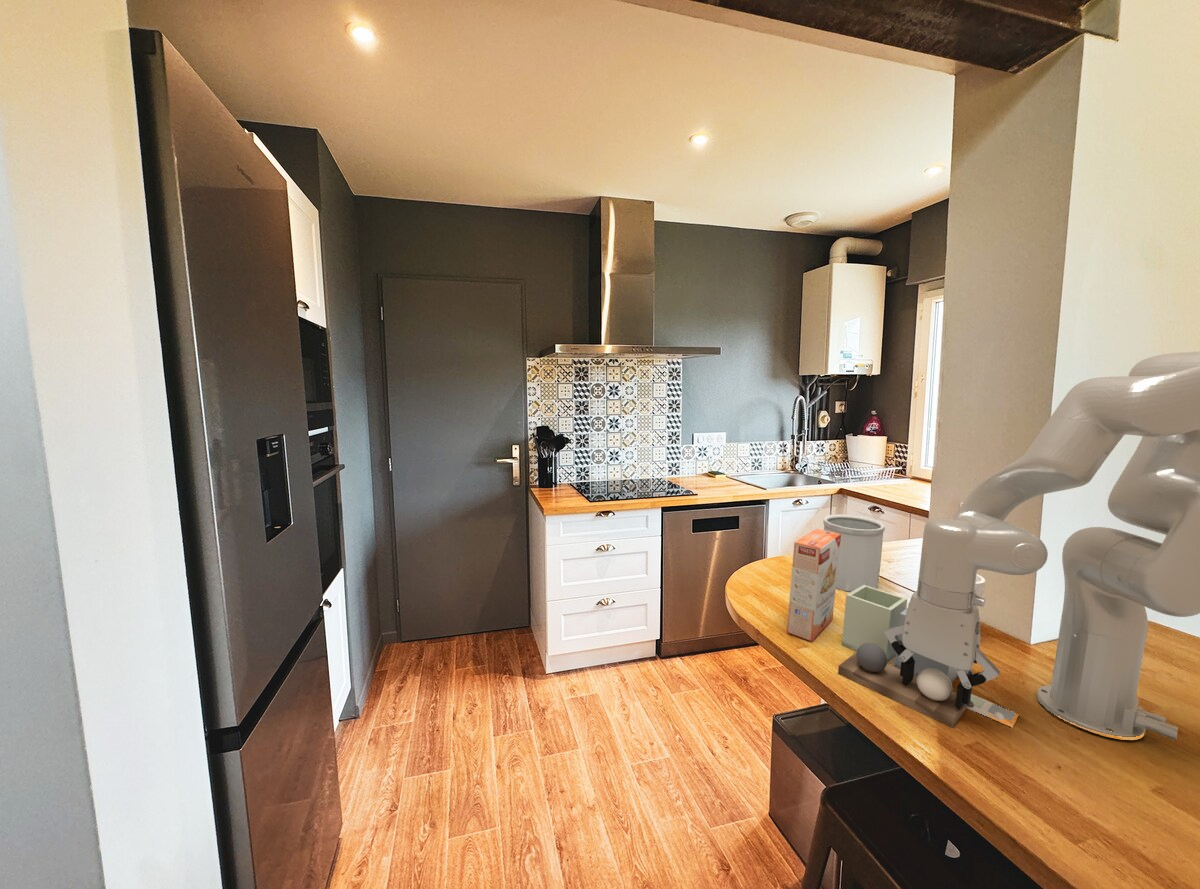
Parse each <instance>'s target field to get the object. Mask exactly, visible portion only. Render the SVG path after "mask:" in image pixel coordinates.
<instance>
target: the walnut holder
mask: <svg viewBox="0 0 1200 889" xmlns="http://www.w3.org/2000/svg"><path fill="white" fill-rule="evenodd" d="M837 674H839V675H840V676H843V677H845V678H847V679H849V680H851V681H853V682H855V683H858V684H860V685H862V686H864V687H866V688H868V689H870V690H872V691H874V692H876V693H878V694H880V695H882V696H884V697H887V698H889V699H892V700H893V701H896V702H898V703H900V704H901V705H904V706H906V707H907V708H910V709H912V710H914V711H917V712H919V713H920V714H922V715H925V716H927V717H929V718H931V719H933V720H935V721H937V722H939V723H941V724H944V725H946V726H948V727H949V728H954V727H955V725H956V724H957V722H958V721H959V720H960V718H961V717H962V716H963V714H964V713H965V712H966V710H968V709H967V706H968V705H966V704H964V706H963V707H962V708H961V710H959V709H957V708H956V707H955V703H956V694H957V692H955V691H952V694H951V696H950V697H949V698H948V699H946V700H943V701H935V700H932V699H929V698H928V697H926V696H925V695H924V694H923V693H922V692H921V691H920V690H919V688H918V685H917V676H915V675H913V680H912V681H911V682H910V683H909V684H908V685H904V684H902V679H903V677H902V676H900V669H898V668H896V667H895V665H894V666H893V665H891V664H889V663H887V665H886V667H885V668H884V669H883V670H882V671H880V672H869V671H867V670H865V669H864V668H863V667H861V665H860V664H859V663H858V661H857V657H856V652H854V653H853V654H851V656H849V657H848V658H847V659H845V660H844V661H843V662H841V663H840V664H838V670H837Z"/></svg>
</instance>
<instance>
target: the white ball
mask: <svg viewBox="0 0 1200 889" xmlns="http://www.w3.org/2000/svg"><path fill="white" fill-rule="evenodd" d="M917 685H918V688H919V690H920V691H921V692H922V693H923V694H924V695H925V696H926V697H928V698H929V699H932V700H935V701H943V700H946V699H948V698H949V697H950V696H951V694H952V692H953V690H954V689H953V682H952V683H951V681H950V679H949V678H948V677H947V675H945V674H944V673H943V672H941V671H940V670H937V669H934V668H926V669H923V670H922V671H920V672H919V674H918V676H917Z"/></svg>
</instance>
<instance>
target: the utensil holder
mask: <svg viewBox="0 0 1200 889" xmlns="http://www.w3.org/2000/svg"><path fill="white" fill-rule="evenodd" d="M822 522H823V526H824V527H823V530H824V531H830V532H835V533H838V534H841V541H840V551H839V560H838V570H837V580H836V589H837V590H840V591H844V592H848V593H850V592H852V591H854V590H856V589H857V588H859V587H861V586H863V585H866V586H869V587H872V588H876V589H878V587H879V580H880V570H881V562H882V553H883V552H882V551H883V539H884V532H885V530H886V526H885V524H884V523H883V522H881V521H880V520H877V519H874V518H870V517H866V516H861V515H853V514H829V515H826V516H824V518H823V521H822Z"/></svg>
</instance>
